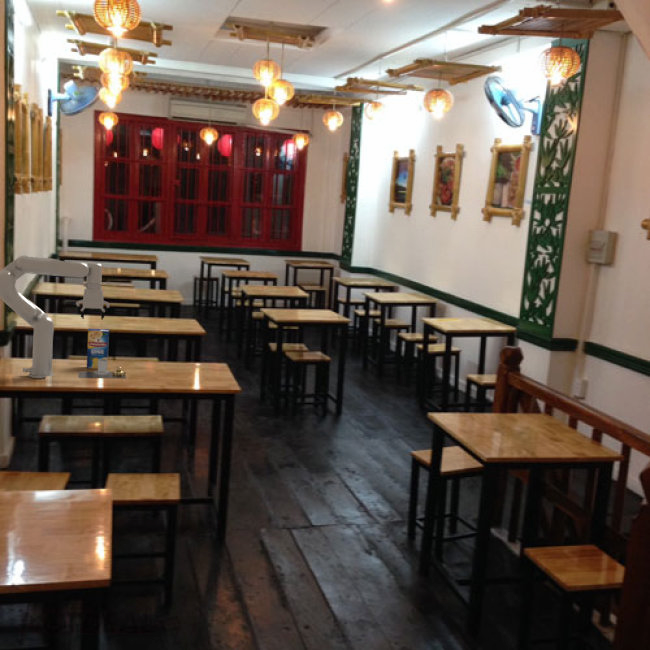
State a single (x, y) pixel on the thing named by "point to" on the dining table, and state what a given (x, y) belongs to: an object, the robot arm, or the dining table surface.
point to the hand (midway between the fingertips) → (92, 318)
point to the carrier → (113, 374)
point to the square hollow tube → (102, 368)
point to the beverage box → (97, 346)
